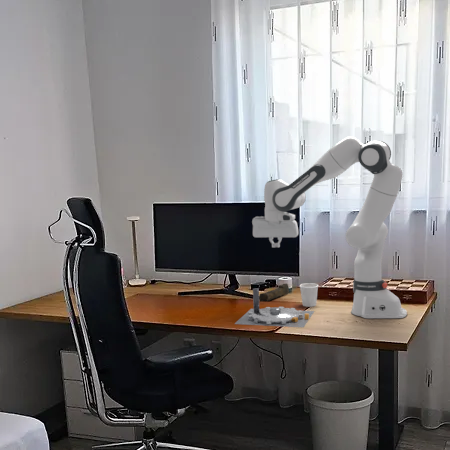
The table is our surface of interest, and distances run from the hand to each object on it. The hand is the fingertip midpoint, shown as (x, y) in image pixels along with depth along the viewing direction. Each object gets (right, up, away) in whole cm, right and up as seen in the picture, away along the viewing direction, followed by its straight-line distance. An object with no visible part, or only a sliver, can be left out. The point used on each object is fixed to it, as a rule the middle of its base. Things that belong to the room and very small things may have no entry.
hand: (275, 247), depth 259 cm
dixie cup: (+15, -27, 0) cm, 31 cm away
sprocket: (-2, -28, -18) cm, 34 cm away
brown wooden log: (+2, -26, +22) cm, 34 cm away
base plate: (-2, -29, -18) cm, 35 cm away
